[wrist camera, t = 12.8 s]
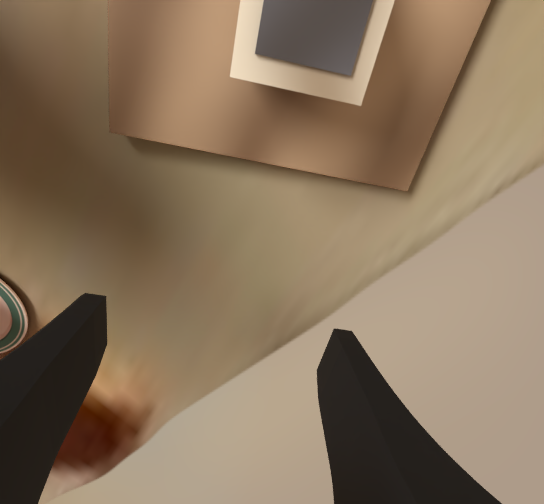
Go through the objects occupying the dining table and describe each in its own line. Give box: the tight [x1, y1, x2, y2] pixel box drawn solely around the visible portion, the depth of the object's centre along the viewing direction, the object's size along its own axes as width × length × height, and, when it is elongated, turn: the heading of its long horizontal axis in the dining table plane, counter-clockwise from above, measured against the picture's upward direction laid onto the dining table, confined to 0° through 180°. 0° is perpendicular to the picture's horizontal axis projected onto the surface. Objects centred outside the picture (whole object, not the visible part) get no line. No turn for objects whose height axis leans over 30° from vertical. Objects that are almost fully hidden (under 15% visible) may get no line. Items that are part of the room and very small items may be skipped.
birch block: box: [230, 0, 395, 106], centre depth 12 cm, size 4×4×5 cm
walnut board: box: [108, 0, 491, 191], centre depth 15 cm, size 14×12×1 cm
